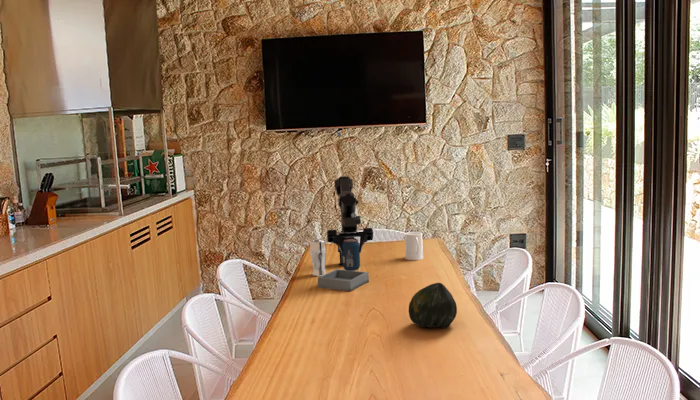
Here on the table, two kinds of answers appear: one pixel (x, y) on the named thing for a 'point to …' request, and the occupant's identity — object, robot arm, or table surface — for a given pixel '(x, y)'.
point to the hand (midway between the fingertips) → (351, 252)
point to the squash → (433, 307)
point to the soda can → (351, 254)
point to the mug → (414, 245)
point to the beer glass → (318, 256)
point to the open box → (343, 280)
